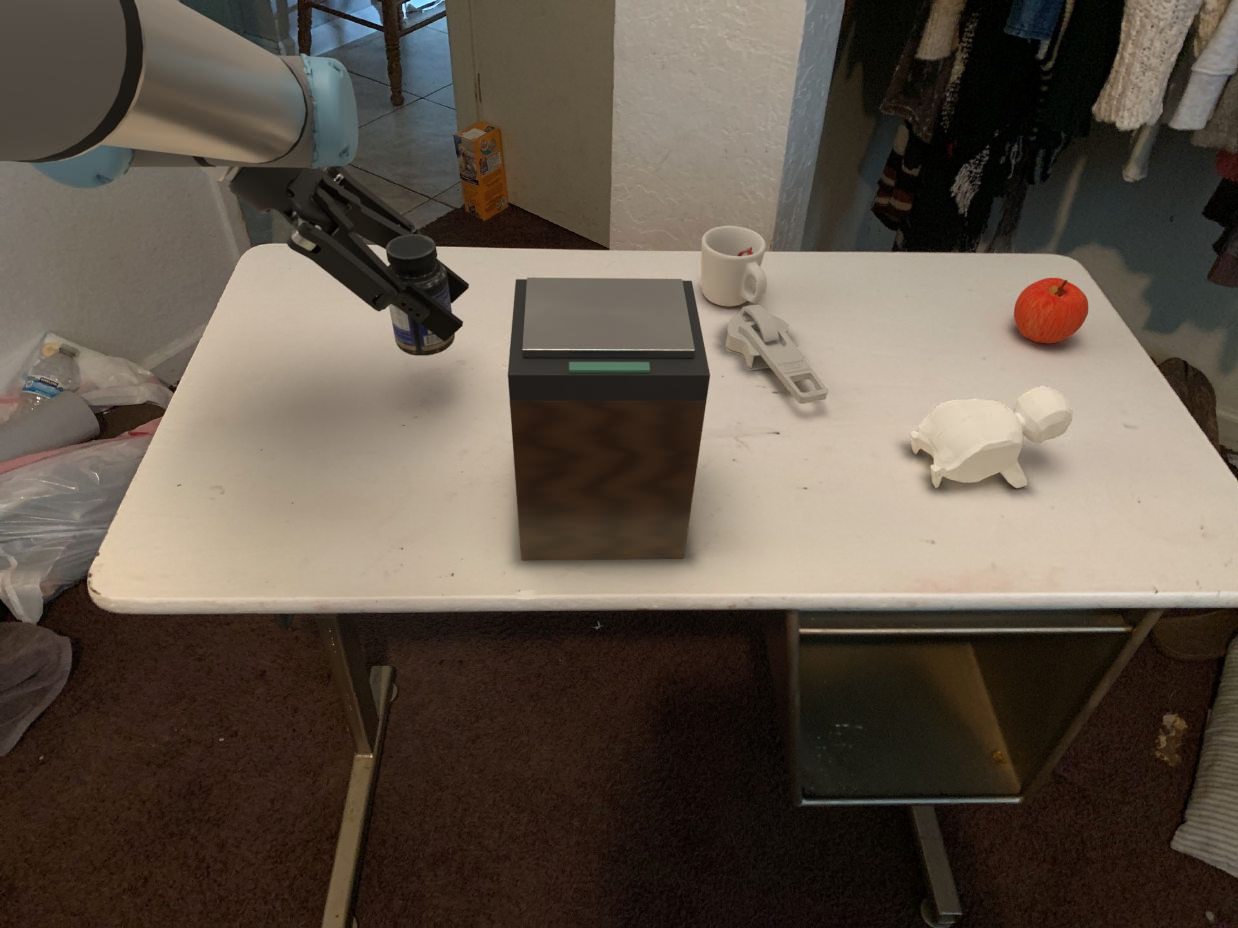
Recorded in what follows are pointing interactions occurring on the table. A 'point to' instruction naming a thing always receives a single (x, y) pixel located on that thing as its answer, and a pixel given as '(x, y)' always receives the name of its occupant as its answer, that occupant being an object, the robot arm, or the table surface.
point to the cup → (732, 266)
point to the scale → (606, 341)
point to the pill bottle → (420, 266)
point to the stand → (605, 477)
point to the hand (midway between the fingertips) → (456, 312)
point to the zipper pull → (772, 350)
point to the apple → (1050, 310)
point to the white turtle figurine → (989, 434)
